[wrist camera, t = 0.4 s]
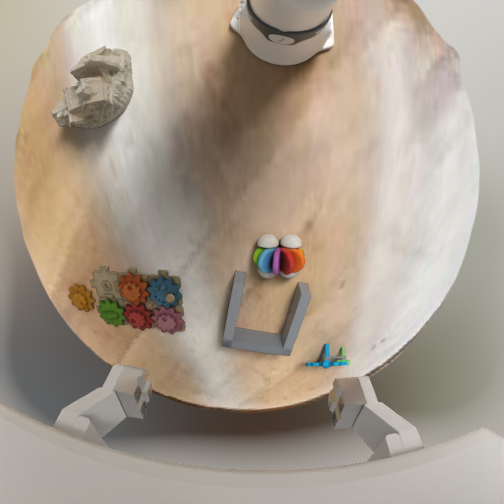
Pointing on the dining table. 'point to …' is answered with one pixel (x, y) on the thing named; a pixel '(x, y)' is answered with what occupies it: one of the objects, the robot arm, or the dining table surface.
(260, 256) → the multicoloured rounded-lobe toy
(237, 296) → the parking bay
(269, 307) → the dining table surface
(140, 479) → the robot arm
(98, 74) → the ceramic cottage
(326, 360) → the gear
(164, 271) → the gear puzzle
